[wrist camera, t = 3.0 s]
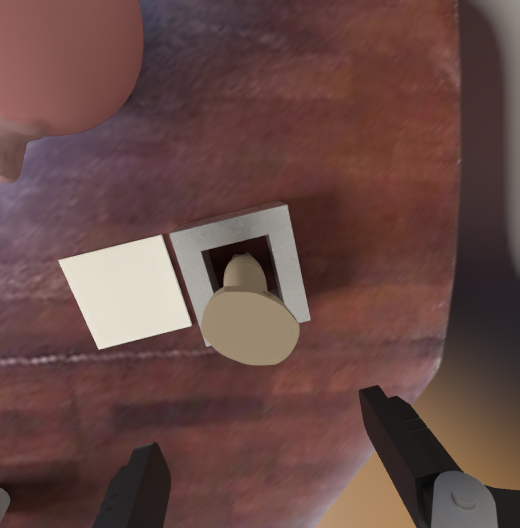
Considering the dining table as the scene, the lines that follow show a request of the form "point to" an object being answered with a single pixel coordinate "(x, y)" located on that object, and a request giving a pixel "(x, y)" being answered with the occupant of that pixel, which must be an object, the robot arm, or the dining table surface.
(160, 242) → the mat
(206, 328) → the handle
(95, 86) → the balloon
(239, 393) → the dining table surface
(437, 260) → the dining table surface
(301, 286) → the collar
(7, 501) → the house plant
